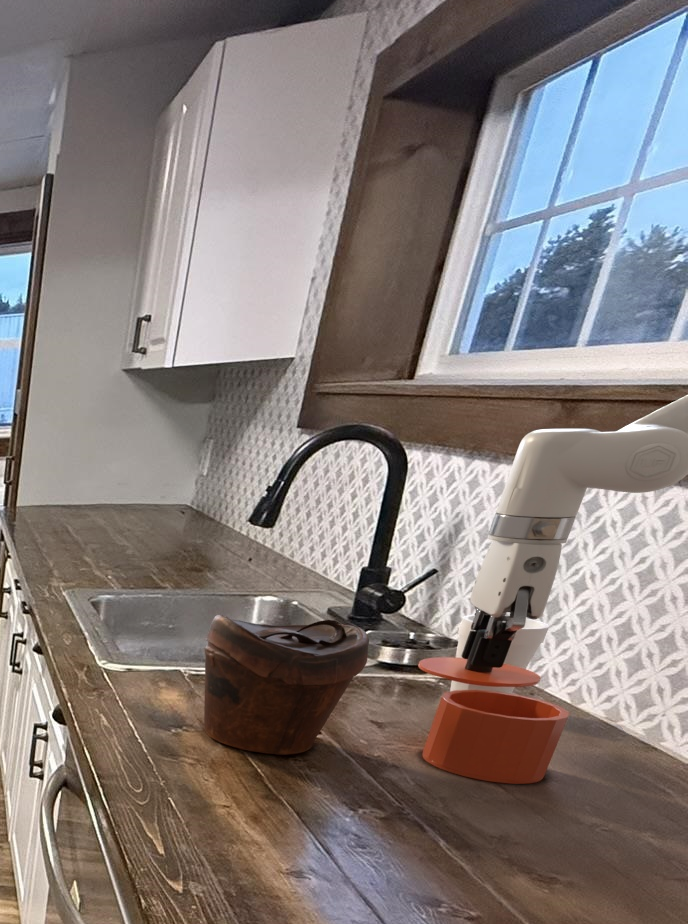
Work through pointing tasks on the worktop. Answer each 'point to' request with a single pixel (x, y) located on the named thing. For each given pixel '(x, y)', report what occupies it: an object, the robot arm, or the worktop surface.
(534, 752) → the pot
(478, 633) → the pot lid
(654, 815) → the worktop surface
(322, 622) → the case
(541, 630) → the foam cup
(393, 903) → the worktop surface
